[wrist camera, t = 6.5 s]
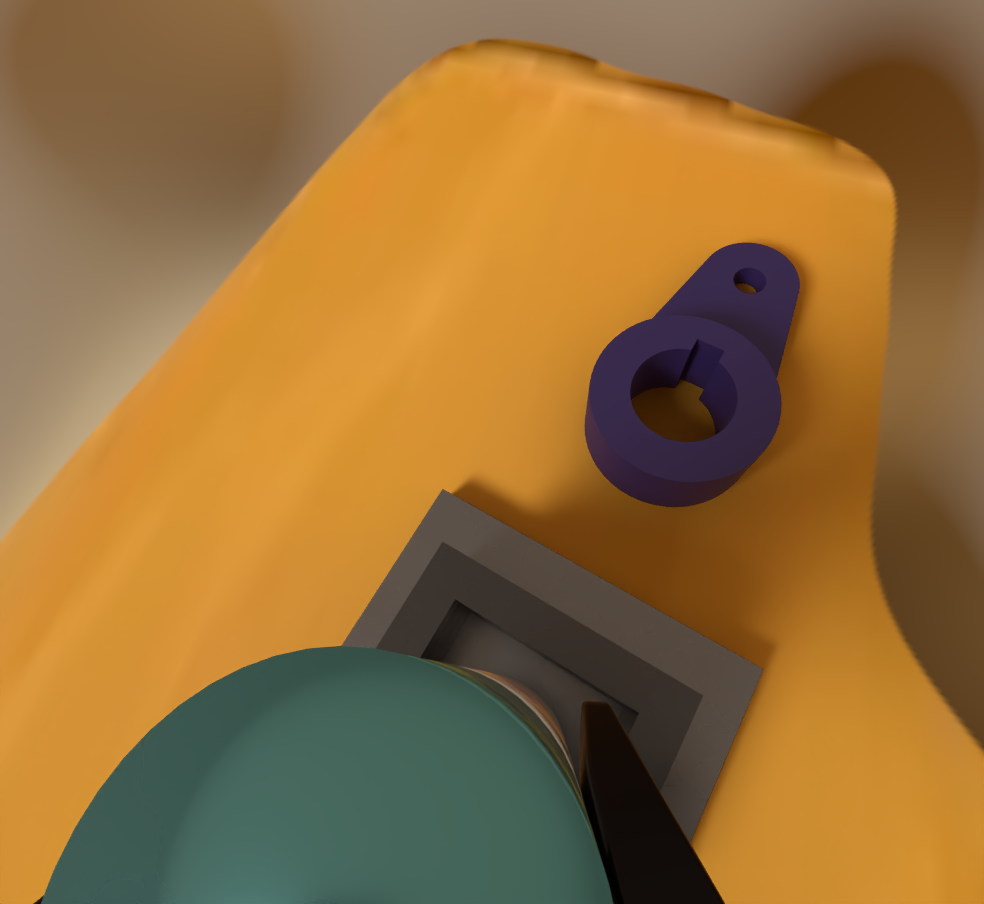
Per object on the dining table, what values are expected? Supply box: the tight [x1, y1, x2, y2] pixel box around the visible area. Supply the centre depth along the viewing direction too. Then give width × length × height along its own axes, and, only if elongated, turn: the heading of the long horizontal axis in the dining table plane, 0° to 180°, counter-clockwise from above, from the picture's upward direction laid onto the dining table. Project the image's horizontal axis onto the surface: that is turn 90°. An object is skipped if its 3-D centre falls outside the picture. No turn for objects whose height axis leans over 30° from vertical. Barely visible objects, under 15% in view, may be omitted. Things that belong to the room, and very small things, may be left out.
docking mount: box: [342, 489, 763, 842], centre depth 17 cm, size 12×12×4 cm
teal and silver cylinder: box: [41, 646, 613, 904], centre depth 9 cm, size 4×4×12 cm
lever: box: [585, 243, 800, 507], centre depth 22 cm, size 12×6×3 cm, turn 148°
